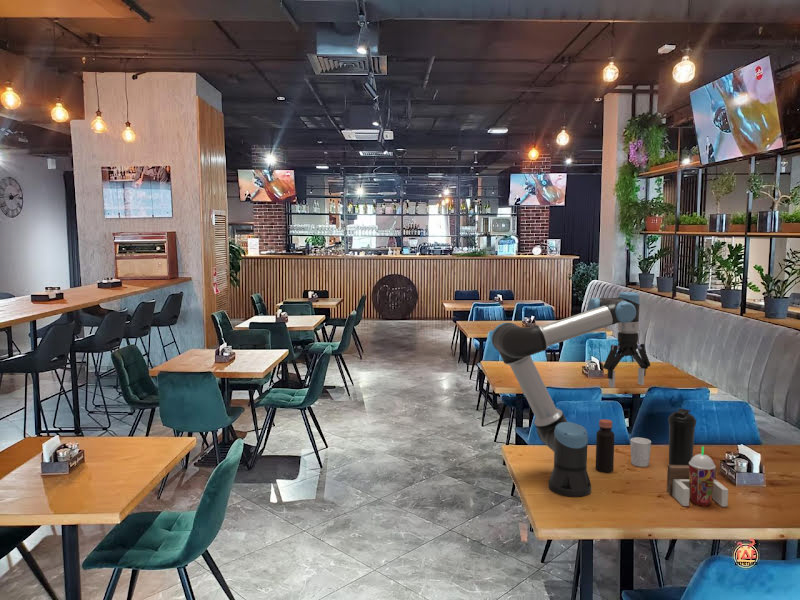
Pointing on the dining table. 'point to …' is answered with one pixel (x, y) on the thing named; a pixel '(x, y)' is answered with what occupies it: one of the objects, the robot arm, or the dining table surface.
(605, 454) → the vinegar
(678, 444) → the water bottle
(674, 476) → the backstop wall
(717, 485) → the frame
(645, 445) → the white cup
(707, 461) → the smoothie
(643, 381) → the robot arm
